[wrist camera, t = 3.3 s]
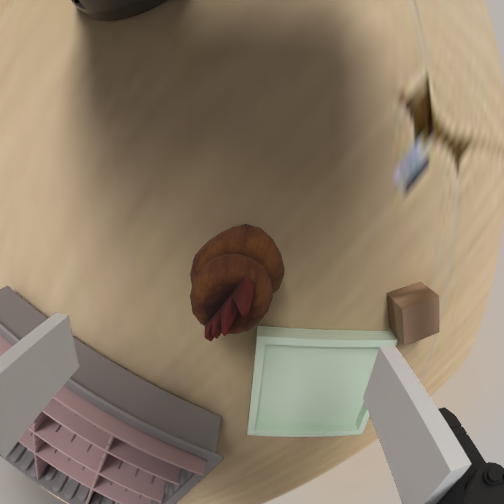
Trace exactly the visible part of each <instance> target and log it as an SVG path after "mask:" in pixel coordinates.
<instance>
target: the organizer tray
mask: <svg viewBox="0 0 504 504" xmlns="http://www.w3.org/2000/svg"><path fill="white" fill-rule="evenodd" d="M47 319H48V318H47V317H46V316H44V315H43V314H42V313H40V312H39V311H38V310H36V309H35V308H34V307H33V306H31V305H30V304H29V303H28V302H26V301H25V300H24V299H23V298H22V297H20V296H19V295H18V294H17V293H16V292H15V291H13V290H12V289H11V288H10V287H9V286H6V287H4V288H2V289H0V356H1V355H3V354H4V353H5V352H6V351H7V350H9V349H10V348H11V347H12V346H14V345H15V344H16V343H17V342H19V341H20V340H21V339H22V338H24V337H25V336H26V335H27V334H29V333H30V332H31V331H33V330H34V329H35V328H36V327H38V326H39V325H40V324H42V323H43V322H44V321H46V320H47ZM73 341H74V346H75V350H76V354H77V359H78V363H79V368H78V369H77V370H76V371H75V372H74V374H73V375H72V376H71V377H70V378H69V379H68V381H67V382H66V383H65V384H64V385H63V386H62V388H61V389H60V390H59V391H58V392H57V394H56V395H55V396H54V397H53V398H52V400H51V401H50V402H49V403H48V404H47V406H46V407H45V408H44V409H43V411H42V412H41V413H40V414H39V415H38V417H37V418H36V419H35V420H34V422H33V423H32V424H31V425H30V427H29V428H28V429H27V430H26V432H25V433H24V434H23V436H22V437H21V438H20V439H19V441H18V442H17V443H16V445H15V446H14V447H13V449H12V450H11V451H10V452H9V454H8V455H7V456H6V458H5V459H6V460H7V461H8V462H9V463H10V464H12V465H13V466H14V467H16V468H17V469H18V470H20V471H21V472H22V473H24V474H25V475H26V476H28V477H29V478H31V479H32V480H33V481H35V482H36V483H38V484H39V485H41V486H42V487H44V488H45V489H47V490H48V491H50V492H51V493H53V494H55V495H56V496H58V497H59V498H61V499H63V500H64V501H66V502H68V503H70V504H175V503H176V502H177V501H178V500H179V499H181V498H182V497H183V496H184V495H185V494H186V493H187V492H189V491H190V490H191V489H192V488H193V487H194V486H195V485H196V484H197V483H198V482H199V481H201V480H202V479H203V478H204V477H205V476H206V475H207V474H208V473H209V472H210V471H211V470H212V469H213V468H214V467H215V466H216V465H217V464H218V463H219V462H220V461H221V460H222V459H223V458H224V457H223V456H222V455H220V454H217V453H216V448H217V442H218V436H219V430H220V424H221V418H222V417H221V416H219V415H216V414H214V413H211V412H209V411H207V410H204V409H202V408H200V407H198V406H196V405H193V404H191V403H189V402H187V401H185V400H183V399H180V398H178V397H176V396H174V395H172V394H170V393H168V392H166V391H164V390H162V389H160V388H158V387H156V386H154V385H153V384H151V383H149V382H147V381H145V380H143V379H141V378H140V377H138V376H136V375H134V374H132V373H131V372H129V371H127V370H125V369H124V368H122V367H120V366H119V365H117V364H115V363H114V362H112V361H110V360H109V359H107V358H105V357H104V356H102V355H100V354H99V353H97V352H96V351H94V350H93V349H91V348H90V347H88V346H86V345H85V344H83V343H82V342H80V341H79V340H78V339H76V338H75V337H73ZM126 369H127V368H126Z"/></svg>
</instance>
